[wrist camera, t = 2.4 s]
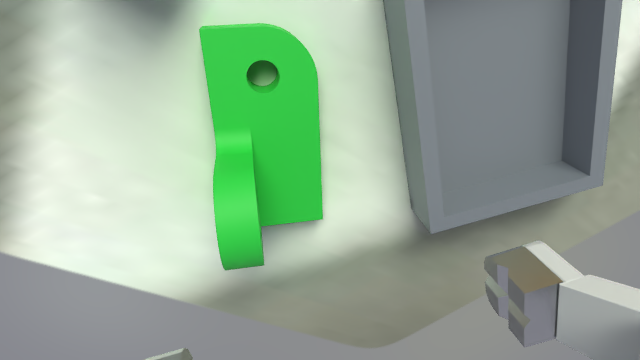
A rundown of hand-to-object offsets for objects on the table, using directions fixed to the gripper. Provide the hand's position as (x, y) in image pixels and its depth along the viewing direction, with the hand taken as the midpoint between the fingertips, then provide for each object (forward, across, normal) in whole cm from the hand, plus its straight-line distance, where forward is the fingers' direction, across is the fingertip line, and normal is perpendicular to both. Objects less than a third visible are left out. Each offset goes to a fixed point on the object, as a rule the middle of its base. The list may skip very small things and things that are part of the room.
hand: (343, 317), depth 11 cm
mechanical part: (+17, +1, 0) cm, 17 cm away
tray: (+17, -13, 0) cm, 21 cm away
